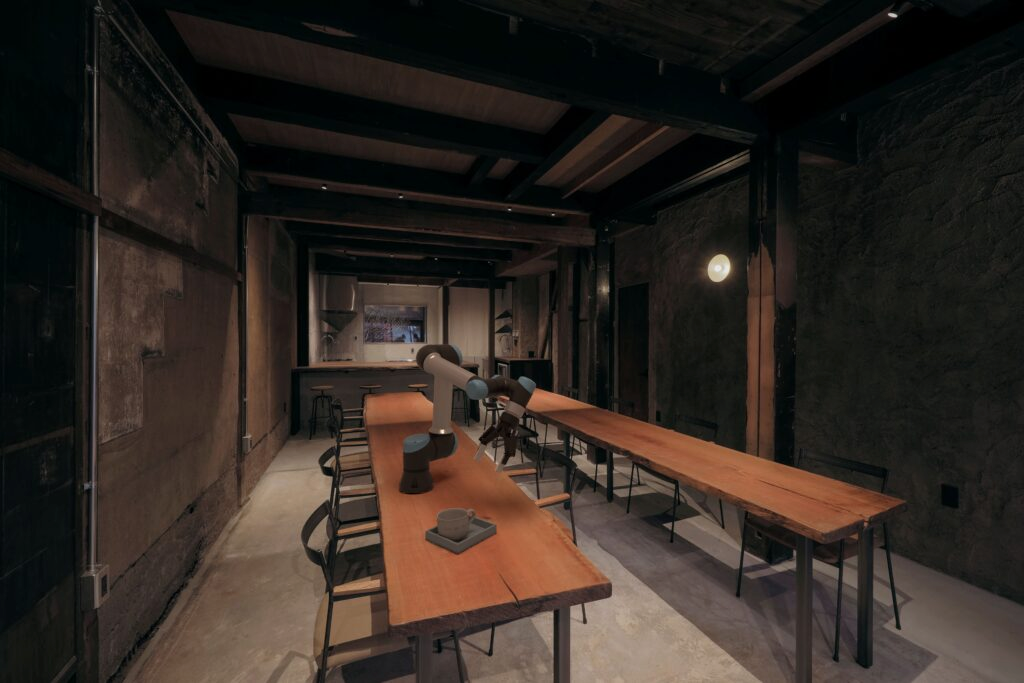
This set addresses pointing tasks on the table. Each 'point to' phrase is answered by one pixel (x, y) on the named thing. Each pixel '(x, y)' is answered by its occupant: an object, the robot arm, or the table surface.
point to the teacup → (454, 523)
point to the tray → (475, 534)
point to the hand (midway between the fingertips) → (486, 466)
